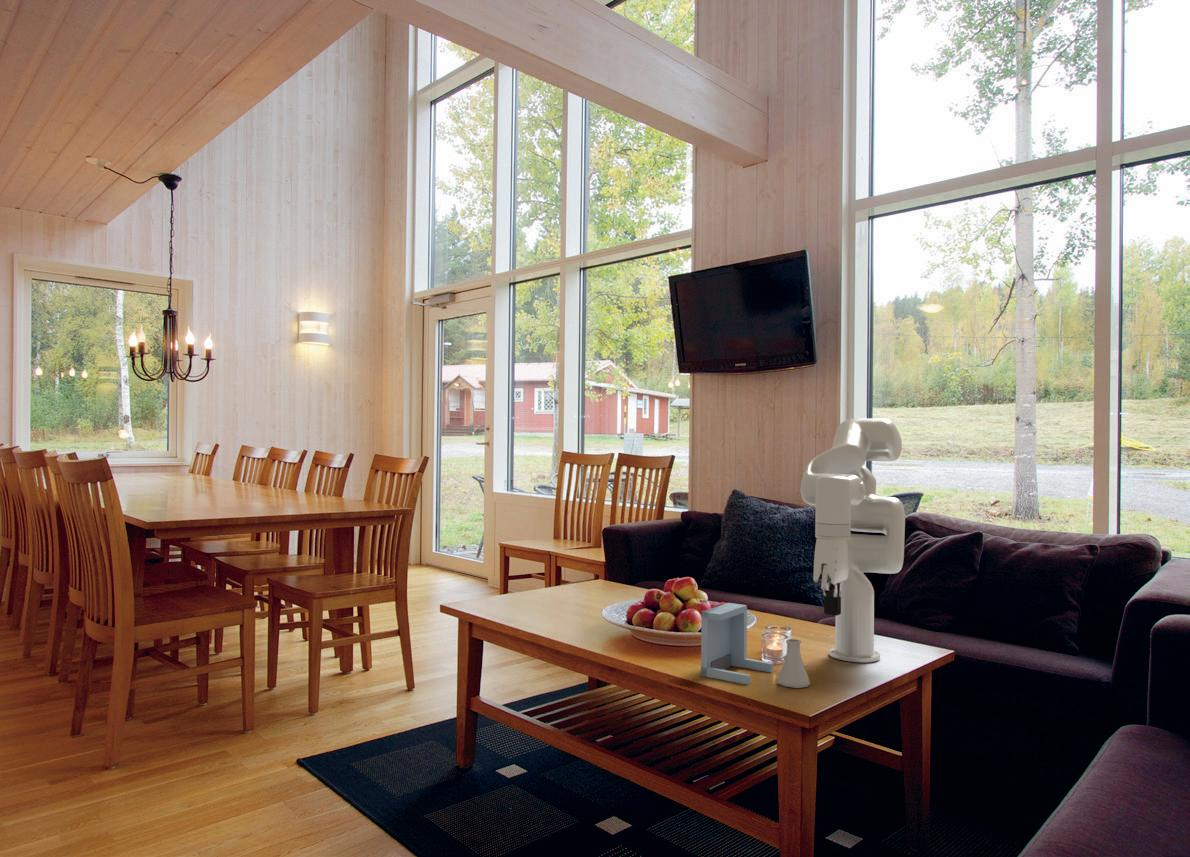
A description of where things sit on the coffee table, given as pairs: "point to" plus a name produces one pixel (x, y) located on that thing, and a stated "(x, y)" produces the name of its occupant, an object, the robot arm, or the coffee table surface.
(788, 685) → the flask
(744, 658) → the blue frame
